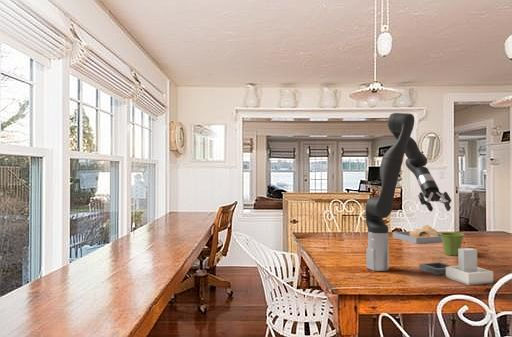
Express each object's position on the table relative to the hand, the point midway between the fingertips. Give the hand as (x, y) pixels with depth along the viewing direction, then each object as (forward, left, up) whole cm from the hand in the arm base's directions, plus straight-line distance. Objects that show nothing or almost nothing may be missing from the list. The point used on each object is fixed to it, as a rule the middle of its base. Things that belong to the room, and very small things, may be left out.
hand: (440, 210), depth 191 cm
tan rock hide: (+41, +62, -27) cm, 79 cm away
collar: (-6, -5, -27) cm, 28 cm away
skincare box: (-5, -21, -26) cm, 34 cm away
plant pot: (+26, +22, -27) cm, 43 cm away
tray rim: (+41, +67, -27) cm, 83 cm away
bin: (-4, -21, -27) cm, 35 cm away
